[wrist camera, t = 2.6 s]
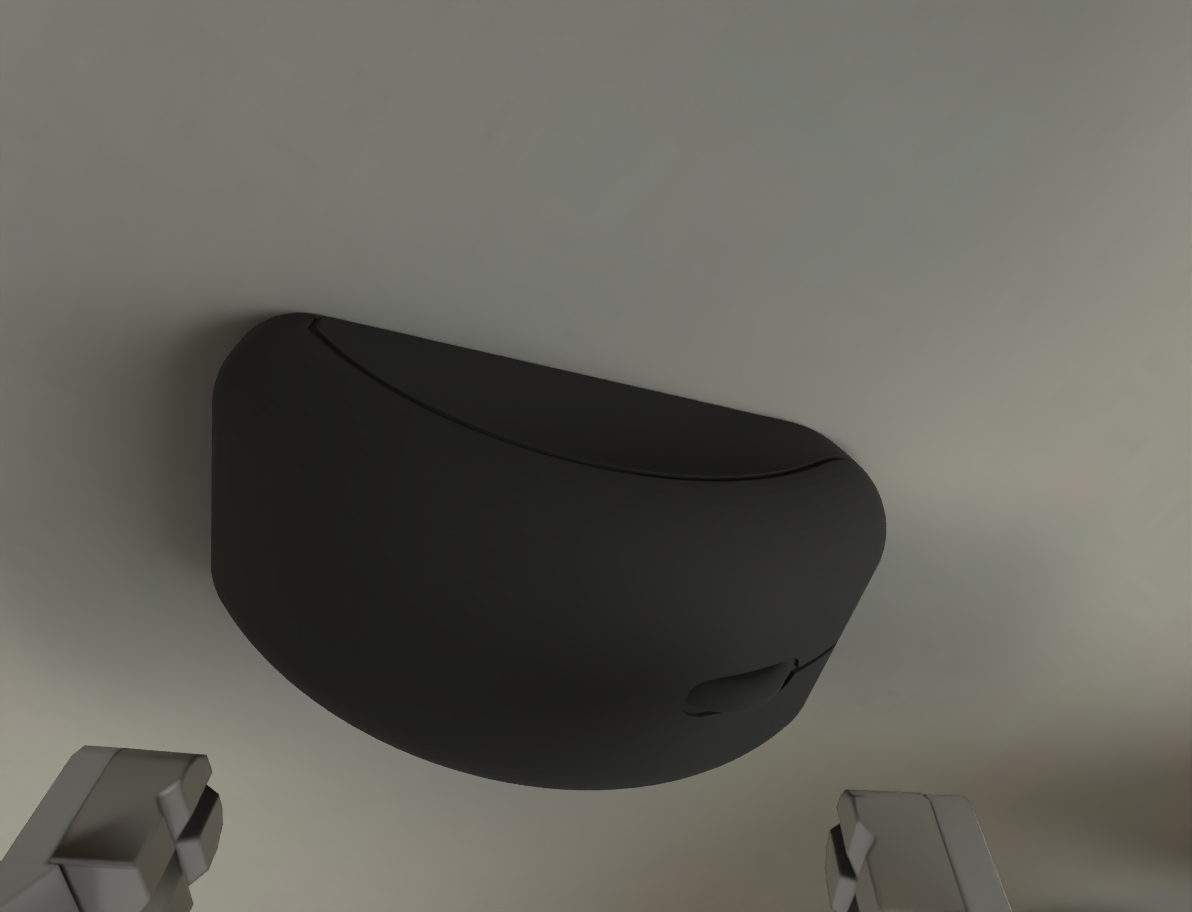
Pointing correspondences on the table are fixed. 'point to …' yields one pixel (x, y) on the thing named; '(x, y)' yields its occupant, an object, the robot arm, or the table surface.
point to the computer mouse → (527, 554)
